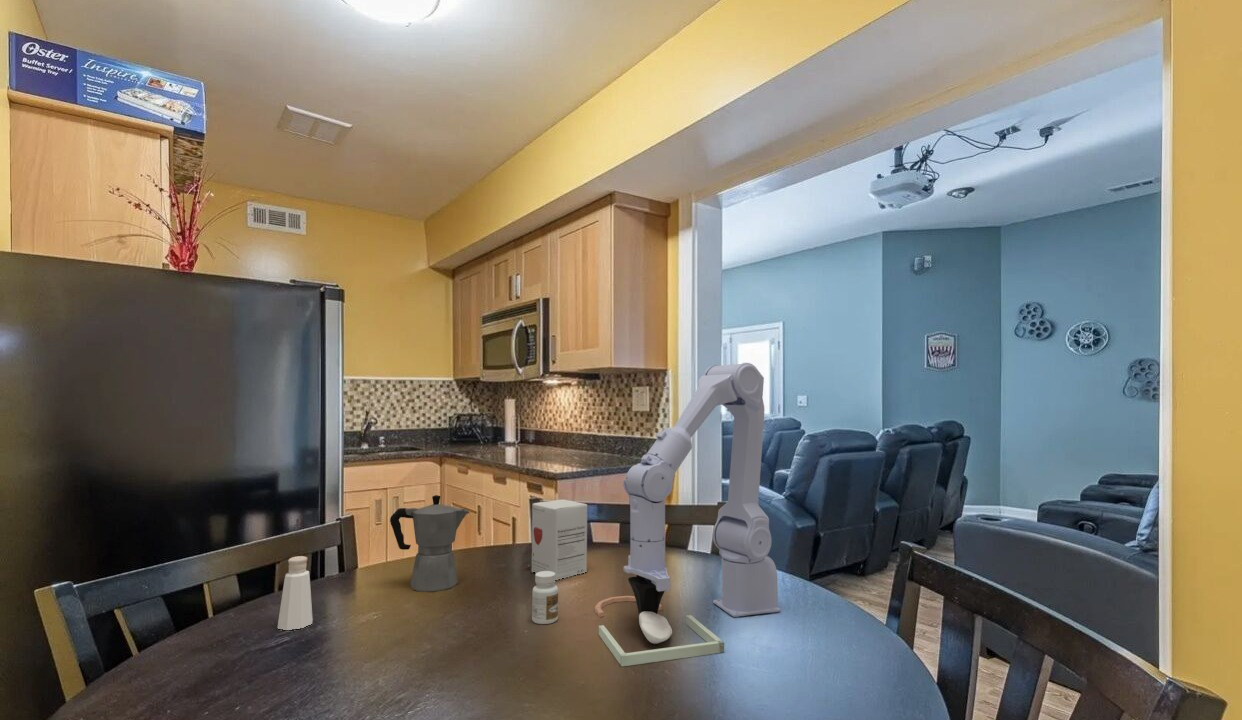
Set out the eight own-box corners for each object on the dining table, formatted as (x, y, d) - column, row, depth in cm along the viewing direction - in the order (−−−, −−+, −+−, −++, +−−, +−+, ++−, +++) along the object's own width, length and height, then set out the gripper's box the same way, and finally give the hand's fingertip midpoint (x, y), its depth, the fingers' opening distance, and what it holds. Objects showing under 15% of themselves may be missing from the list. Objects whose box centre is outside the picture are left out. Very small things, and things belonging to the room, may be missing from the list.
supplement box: (529, 572, 129) (530, 502, 130) (562, 564, 135) (563, 498, 136) (554, 581, 123) (555, 508, 124) (588, 573, 129) (588, 503, 130)
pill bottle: (553, 625, 98) (553, 578, 99) (528, 623, 99) (528, 576, 100) (561, 616, 103) (561, 570, 103) (537, 614, 103) (537, 569, 104)
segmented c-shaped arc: (647, 597, 113) (647, 593, 113) (661, 610, 106) (661, 605, 106) (588, 603, 109) (588, 599, 109) (599, 617, 102) (599, 612, 102)
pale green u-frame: (690, 623, 99) (690, 614, 99) (724, 652, 88) (724, 642, 88) (598, 634, 94) (598, 625, 95) (621, 666, 83) (621, 656, 83)
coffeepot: (468, 576, 126) (470, 490, 127) (467, 590, 117) (468, 497, 118) (391, 581, 123) (394, 493, 124) (384, 595, 114) (386, 500, 115)
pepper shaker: (318, 625, 98) (321, 557, 99) (282, 634, 94) (285, 563, 95) (306, 617, 102) (309, 552, 103) (271, 625, 98) (274, 557, 99)
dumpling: (638, 632, 95) (638, 607, 96) (670, 632, 95) (670, 607, 96) (639, 650, 88) (639, 623, 89) (674, 650, 88) (674, 623, 89)
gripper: (611, 530, 103) (611, 611, 102) (639, 550, 89) (639, 643, 88) (649, 528, 105) (649, 606, 104) (682, 547, 91) (683, 638, 90)
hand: (647, 623), depth 96 cm, fingers closed
